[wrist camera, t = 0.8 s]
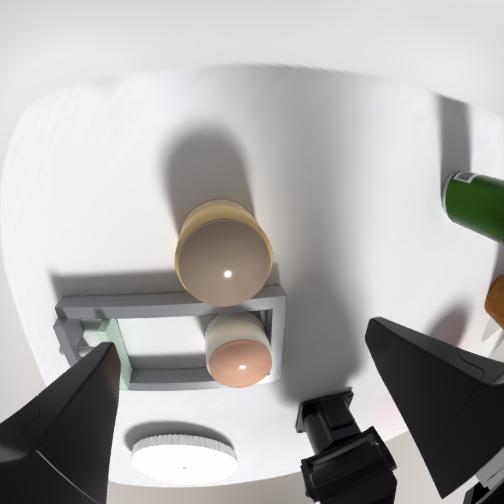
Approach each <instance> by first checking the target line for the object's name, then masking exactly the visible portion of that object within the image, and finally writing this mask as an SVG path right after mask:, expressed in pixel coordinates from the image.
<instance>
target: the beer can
mask: <svg viewBox="0 0 504 504" xmlns="http://www.w3.org/2000/svg"><path fill="white" fill-rule="evenodd" d="M442 204H443V209H444V211H445V213H446V215H447V216H448V217H449V218H450V219H451V220H452V221H453V222H454V223H457V224H459V225H461V226H464V227H466V228H468V229H471V230H473V231H475V232H477V233H479V234H482V235H484V236H486V237H488V238H490V239H492V240H494V241H497V242H499V243H501V244H503V245H504V180H500V179H497V178H493V177H489V176H485V175H481V174H477V173H472V172H468V171H464V170H463V171H457V172H454V173H453V174H451V175H450V176H449V177H448V178H447V180H446V182H445V184H444V187H443V192H442Z"/></svg>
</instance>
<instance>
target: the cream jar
mask: <svg viewBox="0 0 504 504" xmlns="http://www.w3.org/2000/svg"><path fill="white" fill-rule="evenodd" d="M205 348H206V363H207V369H208V371H209V373H210V375H211V376H212V377H213V379H214V380H215V381H217V382H218V383H220V384H222V385H224V386H227V387H233V388H242V387H248V386H251V385H254V384H256V383H258V382H260V381H261V380H263V379H264V378H265V377H266V376H267V375H268V374H269V372H270V370H271V368H272V364H273V359H274V358H273V352H272V349H271V347H270V344H269V341H268V338H267V335H266V333H265V330H264V327H263V325H262V323H261V321H260V320H259V319H258V318H257V317H256V316H255V315H253V314H251V313H249V312H236V313H223V314H220V315H218V316H216V317H215V318H213V319H212V320H211V321H210V323H209V324H208V325H207V328H206V330H205Z"/></svg>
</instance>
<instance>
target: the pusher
mask: <svg viewBox="0 0 504 504" xmlns="http://www.w3.org/2000/svg"><path fill="white" fill-rule="evenodd" d="M97 333H98V336H99V339H100V341H101V342H113V343H114V344H115V346H116V349H117V352H118V354H119V357H120V360H121V374H120V386H119V388H120V390H128V387H129V382H130V377H131V373H132V367H131V364H130V361H129V358H128V355H127V352H126V349H125V346H124V343H123V340H122V337H121V334H120V330H119V327H118V324H117V320H116V319H103V320H102V322H101V324H100V327H99V329H98V331H97ZM94 348H95V347H89V346H77V348H76V351H77V353H78V355H79V356H81V357H84V356H85V355H86V354H88V353H89V352H90V351H91V350H93V349H94ZM60 354H61V355H65V354H64V352H63V350H62V348H61V346H60Z"/></svg>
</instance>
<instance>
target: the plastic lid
mask: <svg viewBox="0 0 504 504" xmlns="http://www.w3.org/2000/svg"><path fill="white" fill-rule="evenodd" d="M131 461H132V463H133V465H134V466H135V467H136V468H137V469H138V470H140V472H143V474H145V475H148V476H149V477H152V478H155V479H158V480H162V481H166V482H170V483H175V484H177V483H178V484H187V485H189V484H191V485H193V484H195V485H197V484H205V483H213V482H216V481H220V480H223V479H226V478H228V476H231V475H233V473H235V472H236V470H237V468H238V461H237V456H236V453H235V451H234V450H232V448H230V446H227V445H224V443H221V442H220V441H218V442H217V440H212V439H208V438H203V437H198V436H192V435H190V436H188V435H181V434H179V435H176V434H174V435H171V434H169V435H159V436H154V437H152V436H151V437H150V438H149V437H147V438H146V439H145V438H144V439H143V440H140V441H138V443H136V444H134V446H133V448H132V457H131Z"/></svg>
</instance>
